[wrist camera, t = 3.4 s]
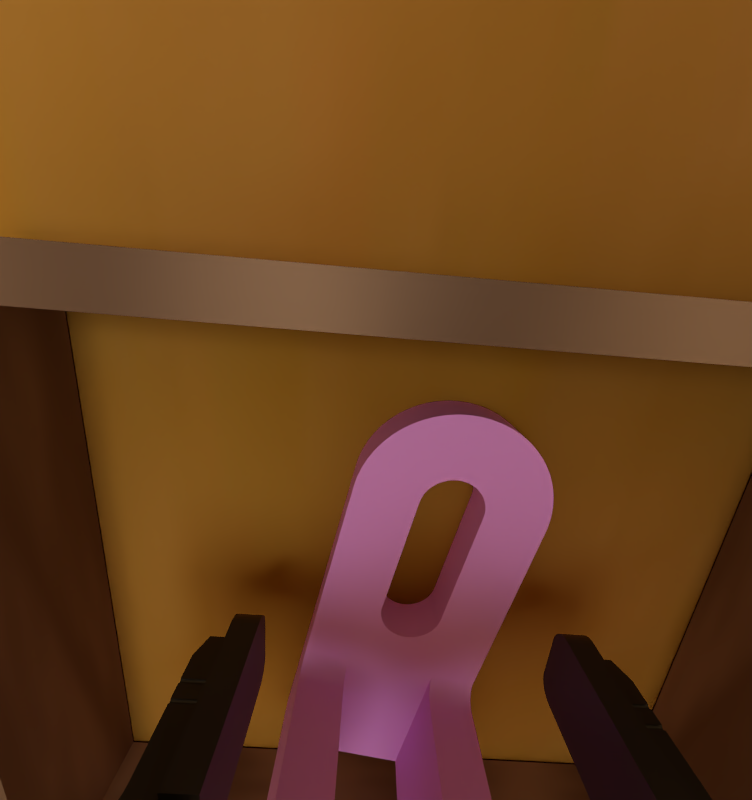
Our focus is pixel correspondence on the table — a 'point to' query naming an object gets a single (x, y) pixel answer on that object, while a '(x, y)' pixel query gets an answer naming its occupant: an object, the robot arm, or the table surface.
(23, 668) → the crate
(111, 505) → the table surface
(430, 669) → the bracket
